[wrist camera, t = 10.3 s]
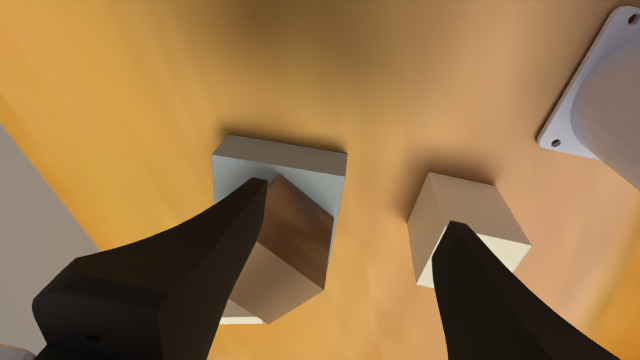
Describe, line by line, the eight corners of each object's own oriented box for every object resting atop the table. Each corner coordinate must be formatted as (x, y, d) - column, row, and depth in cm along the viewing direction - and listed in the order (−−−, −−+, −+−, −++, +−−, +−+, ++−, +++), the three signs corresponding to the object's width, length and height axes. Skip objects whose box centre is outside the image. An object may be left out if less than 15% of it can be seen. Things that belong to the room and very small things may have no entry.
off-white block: (495, 186, 23) (531, 245, 18) (467, 236, 26) (491, 300, 21) (428, 171, 23) (445, 226, 18) (406, 223, 26) (416, 284, 21)
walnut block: (334, 218, 22) (324, 290, 17) (289, 251, 25) (268, 324, 20) (279, 173, 21) (251, 237, 16) (237, 213, 23) (200, 280, 18)
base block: (347, 151, 24) (345, 176, 21) (331, 239, 28) (327, 271, 25) (230, 132, 24) (211, 154, 21) (233, 222, 28) (217, 251, 25)
